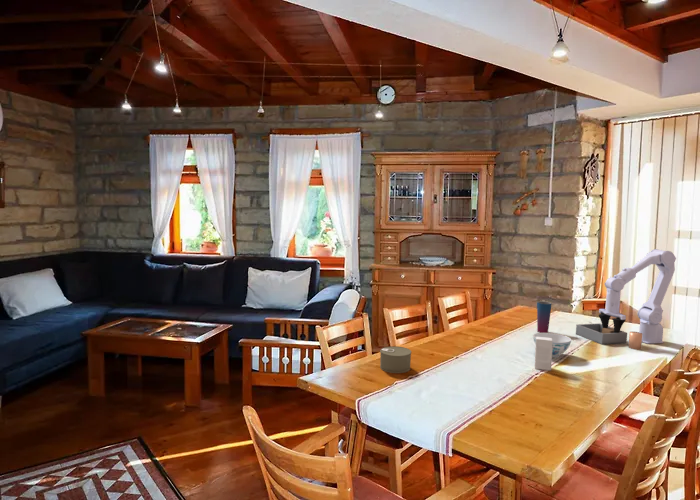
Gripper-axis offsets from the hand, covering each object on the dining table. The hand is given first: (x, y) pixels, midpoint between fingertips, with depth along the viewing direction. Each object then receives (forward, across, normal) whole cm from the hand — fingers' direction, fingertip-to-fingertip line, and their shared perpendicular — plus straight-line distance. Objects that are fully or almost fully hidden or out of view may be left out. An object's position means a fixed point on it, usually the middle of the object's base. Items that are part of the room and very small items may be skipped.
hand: (610, 331), depth 227 cm
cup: (+5, -20, -22) cm, 31 cm away
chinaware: (+5, +14, -42) cm, 45 cm away
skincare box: (+5, +28, -56) cm, 63 cm away
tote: (+5, -4, -2) cm, 6 cm away
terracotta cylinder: (+5, +12, +2) cm, 13 cm away
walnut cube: (+4, 0, 0) cm, 4 cm away
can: (+5, +17, -114) cm, 115 cm away
